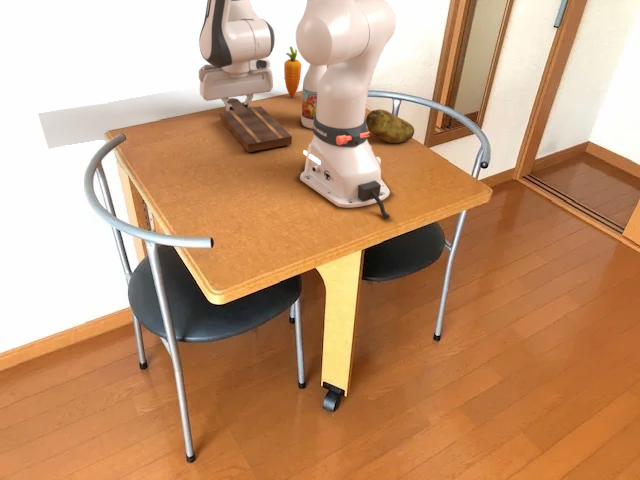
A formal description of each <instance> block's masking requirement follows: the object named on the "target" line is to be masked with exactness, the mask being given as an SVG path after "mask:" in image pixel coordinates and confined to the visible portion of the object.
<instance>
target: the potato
mask: <svg viewBox="0 0 640 480" xmlns="http://www.w3.org/2000/svg"><path fill="white" fill-rule="evenodd" d="M365 119H366V125H367V131H368V132H370V133H371V134H372V135H374V136H375V137H377V138H380V139H381V140H383V141H385V142H387V143H391V144H400V143H401V144H402V143H404V142H407V141H410V140H411V139H413V137H414V135H415V128H414V126H413V124H411V123H409V122H408V121H407V120H404V119H403V118H400V117H399V116H397V115H395V114H394V113H391V112H390V111H388V110H385V109H381V108H380V109H373V110H371V111H370V112H369V113H368V114H367V116H365Z"/></svg>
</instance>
